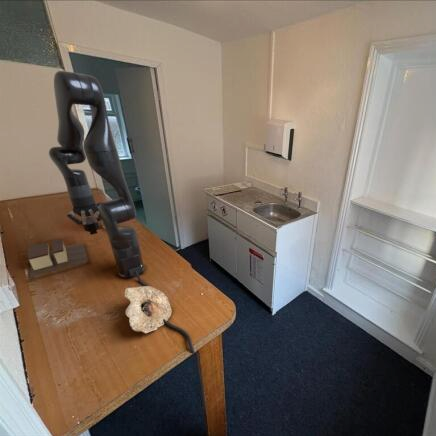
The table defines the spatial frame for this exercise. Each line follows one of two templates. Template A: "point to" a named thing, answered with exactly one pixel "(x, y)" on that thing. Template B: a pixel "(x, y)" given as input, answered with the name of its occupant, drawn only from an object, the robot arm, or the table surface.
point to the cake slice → (59, 251)
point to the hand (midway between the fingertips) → (92, 230)
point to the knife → (91, 225)
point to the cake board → (74, 257)
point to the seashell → (147, 308)
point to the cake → (40, 255)
